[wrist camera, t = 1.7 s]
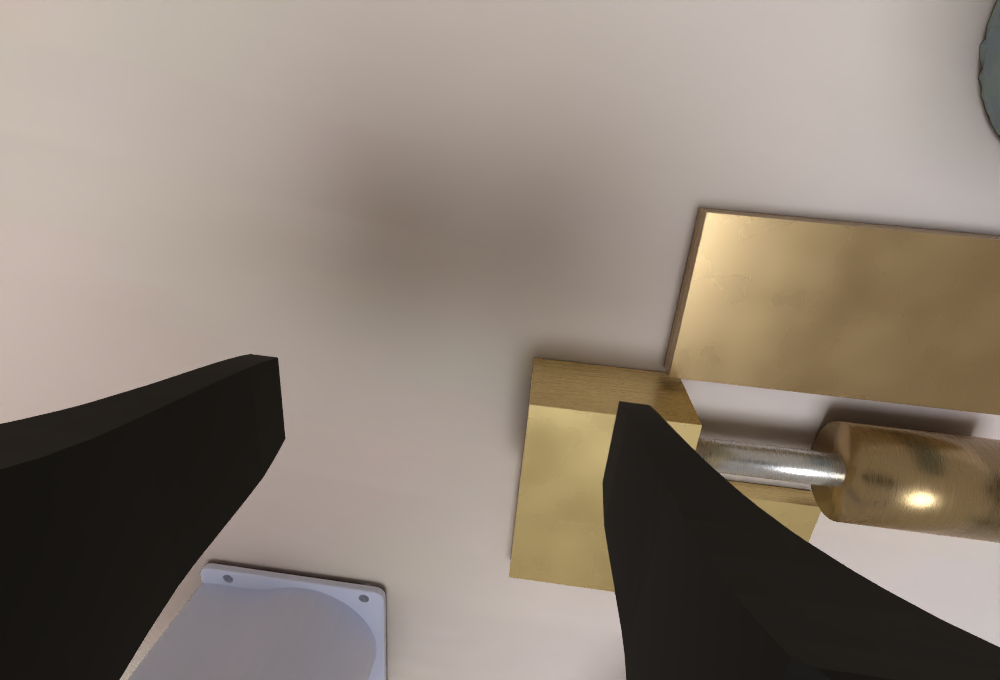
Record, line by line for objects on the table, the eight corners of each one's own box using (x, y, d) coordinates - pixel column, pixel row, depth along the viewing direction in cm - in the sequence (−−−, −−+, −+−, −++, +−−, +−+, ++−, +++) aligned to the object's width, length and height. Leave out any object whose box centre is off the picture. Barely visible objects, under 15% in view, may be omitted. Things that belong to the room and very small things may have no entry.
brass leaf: (510, 559, 25) (503, 629, 21) (534, 357, 21) (529, 404, 17) (770, 596, 24) (805, 674, 21) (848, 393, 20) (908, 449, 17)
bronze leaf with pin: (642, 459, 22) (657, 519, 19) (699, 207, 18) (730, 227, 15) (942, 497, 21) (1012, 566, 18) (1072, 242, 17) (1194, 272, 14)
